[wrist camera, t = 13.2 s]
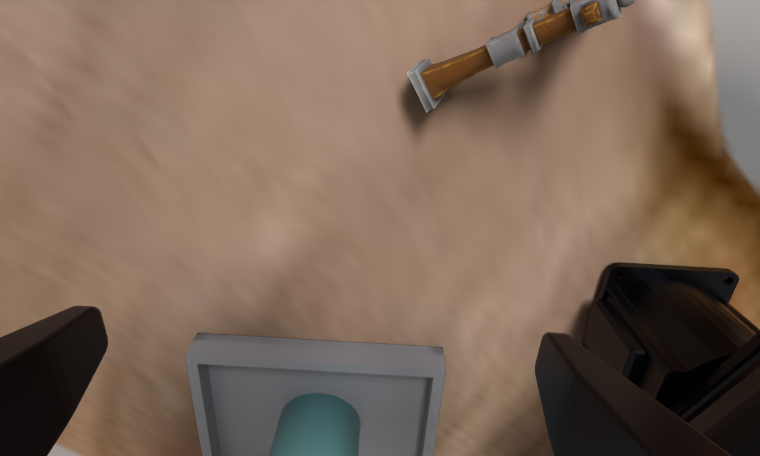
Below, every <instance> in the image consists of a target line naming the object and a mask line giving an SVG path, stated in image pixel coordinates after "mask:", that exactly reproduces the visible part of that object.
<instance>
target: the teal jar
mask: <svg viewBox="0 0 760 456" xmlns="http://www.w3.org/2000/svg"><path fill="white" fill-rule="evenodd" d="M360 427H361V423H360V418H359V415H358V413H357V412H356V410H355V409H354V408H353V407H352V406H351V405H350V404H349V403H347V402H346V401H344V400H343V399H341V398H338V397H336V396H333V395H329V394H323V393H311V394H305V395H301V396H298V397H296V398H294V399H292V400H291V401H289V402H288V403H287V404H286V405H285V406H284V408H283V409H282V411H281V414H280V417H279V421H278V425H277V428H276V432H275V435H274V439H273V443H272V446H271V450H270V453H269V456H358V453H359V440H360Z"/></svg>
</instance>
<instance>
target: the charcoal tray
mask: <svg viewBox="0 0 760 456" xmlns="http://www.w3.org/2000/svg"><path fill="white" fill-rule="evenodd" d="M185 360H186V366H187V371H188V377H189V383H190V389H191V394H192V400H193V406H194V412H195V417H196V423H197V429H198V435H199V440H200V446H201V452H202V456H269V453H270V450H271V446H272V443H273V439H274V435H275V432H276V428H277V425H278V421H279V417H280V414H281V411H282V409H283V408H284V406H285V405H286V404H287V403H288V402H289V401H291V400H292V399H294V398H296V397H298V396H301V395H305V394H311V393H323V394H329V395H333V396H336V397H338V398H341V399H343V400H344V401H346V402H347V403H349V404H350V405H351V406H352V407H353V408H354V409H355V410H356V412H357V413H358V415H359V418H360V423H361V427H360V440H359V453H358V456H433V450H434V444H435V437H436V430H437V424H438V417H439V411H440V404H441V398H442V391H443V384H444V378H445V371H446V368H445V362H444V355H443V348H442V347H430V346H413V345H396V344H379V343H361V342H344V341H327V340H310V339H292V338H275V337H258V336H241V335H223V334H206V333H197V335H196V337H195V338H194V340H193V342H192V343H191V345H190V347H189V348H188V350H187V352H186V353H185Z"/></svg>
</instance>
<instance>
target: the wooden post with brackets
mask: <svg viewBox="0 0 760 456" xmlns="http://www.w3.org/2000/svg"><path fill="white" fill-rule="evenodd" d="M634 2H635V0H569V5H568V3H567V2H565V4H562V3H561V2H560V1H559V0H552V2H551V5H549V6H547V7H544V8H542V9H539V10H537V11H534V12H529V13H528V14H527V16H526V19H527V20H524V21H522V22H520V23H519V25H518V26H516V27H515V28H513V29H512V30H510V31H508V32H506V33H503V34H501V35H499V36H497V37H493V38H490V40H489V41H488V42H487V43H486V45H484V46H482V47H480V48H478V49H475V50H473V51H470V52H468V53H465V54H462V55H460V56H457V57H454V58H451V59H449V60H446V61H443V62H440V63H436V64H431V62H430V59H429V58H428V59H426V60H423V61H419V62H418V63H417V64H416V65H415V66H414V67H413V68H412V69H411V70H410V71H409V72H408V73H407V74H408V76H409V78H410V80H411V82H412V84H413V86H414V88H415V90H416V92H417V94H418V96H419V99H420V101H421V103H422V105H423V107H424V109H425V111H426V113H427V112H428V111H429V110H431V109H435V107H436V106H437V105H438V103H439V102H440V101H441V100H442V98H443V97H444V96H445V95H446V94H445V92H446V91H448V90H449V89H451V88H453V87H454V86H456V85H458V84H460V83H461V82H463V81H465V80H466V79H468V78H470V77H472V76H473V75H475V74H477V73H478V72H481V71H483V70H485V69H487V68H489V67H491V66H493V65H494V67H495V69H496V68H498V67H499V66H501V65H502V64H505V63H507V62H510V61H512V60H514V59H517V58H521V57H525V56H526V54H527V52H528V51H529V50H531V51H532V54H533V53H534V52H536V51H539V50H540V49H541V47H542V45H543V44H545V43H547V42H550V41H552V40H554V39H557V38H559V37H561V36H564V35H566V34H569V33H571V32H573V31H576V30H577V32H578V35H579V34H580V33H582V32H584V31H585V30H588V29H590V28H592V27H595V26H597V25H600V24H602V23H605V22H607V21H610V20H613V19H617V18H620V16H621V7H627V6H630V5H631V4H632V3H634Z"/></svg>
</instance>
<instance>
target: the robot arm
mask: <svg viewBox="0 0 760 456" xmlns="http://www.w3.org/2000/svg"><path fill="white" fill-rule="evenodd" d="M618 271H621V272H620V274H618V275H615V273H616V272H618ZM727 277H728V278H727ZM726 278H727V280H725V281H724V279H726ZM738 281H739V277H738V275H737V274H735V273H734V272H733V271H731V270H730V269H722V268H705V267H688V266H670V265H653V264H636V263H614V264H611V265H610V266H609V267H608V268H607V270H606V273H605V276H604V279H603V283H602V286H601V289H600V292H599V295H598V298H597V300H596V301H595V302H594V304H593V307H592V310H591V313H590V316H589V320H588V323H587V326H586V329H585V332H584V336H583V340H584V343H583V346H582V345H581V344H580V343H578V342H577V341H576V340H574V339H573V338H572V337H570V336H569V335H567V334H565V333H553V332H547V333H545V334H544V335H543V337H542V340H541V344H540V348H539V352H538V356H537V360H536V364H535V375H536V380H537V384H538V389H539V394H540V398H541V403H542V407H543V412H544V416H545V421H546V426H547V430H548V435H549V439H550V443H551V447H552V450H553V453H554V456H760V330H759V329H758V328H757V327H756V326H755V325H754V324H752V323H751V322H750V321H749V320H748V319H747V318H745V317H744V316H743V315H742V314H741V313H740V312H738V311H737V310H736V309H735V308H734V307H733V306H731V305H730V304H729V301H730V299H731V296H732V294H733V292H734V290H735V288H736V286H737V284H738ZM107 346H108V337H107V334H106V330H105V326H104V322H103V319H102V315H101V312H100V310H99V309H98V308H96V307H93V306H74V307H71V308H69V309H66V310H64V311H61V312H59V313H57V314H54V315H52V316H50V317H47V318H45V319H43V320H40V321H38V322H36V323H33V324H31V325H29V326H26V327H24V328H22V329H19V330H17V331H15V332H12V333H10V334H8V335H5V336H3V337H0V456H47V455H48V454H49V452H50V451H51V449H52V447H53V446H54V444H55V443H56V441H57V440H58V438H59V437H60V435H61V434H62V432H63V430H64V429H65V427H66V426H67V424H68V422H69V421H70V419H71V417H72V415H73V414H74V412H75V410H76V408H77V406H78V404H79V402H80V401H81V399H82V397H83V395H84V393H85V391H86V389H87V387H88V385H89V383H90V381H91V379H92V377H93V375H94V373H95V372H96V370H97V368H98V366H99V364H100V362H101V360H102V358H103V356H104V354H105V352H106V350H107Z"/></svg>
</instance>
